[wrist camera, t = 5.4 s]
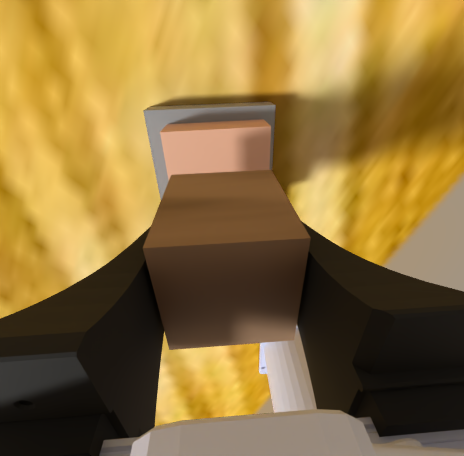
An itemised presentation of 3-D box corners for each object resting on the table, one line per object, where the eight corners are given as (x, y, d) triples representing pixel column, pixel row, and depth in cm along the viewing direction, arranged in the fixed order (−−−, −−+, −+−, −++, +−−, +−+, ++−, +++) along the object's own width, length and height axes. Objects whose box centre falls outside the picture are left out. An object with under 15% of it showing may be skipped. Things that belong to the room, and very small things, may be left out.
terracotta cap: (261, 205, 19) (267, 221, 17) (180, 210, 19) (176, 227, 17) (263, 119, 16) (271, 126, 14) (167, 124, 16) (160, 132, 14)
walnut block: (267, 249, 14) (294, 340, 9) (184, 254, 14) (169, 349, 9) (271, 169, 12) (310, 237, 7) (171, 174, 11) (142, 248, 7)
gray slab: (264, 204, 22) (269, 218, 20) (170, 209, 22) (165, 224, 20) (268, 100, 18) (275, 105, 16) (151, 105, 18) (143, 110, 15)
